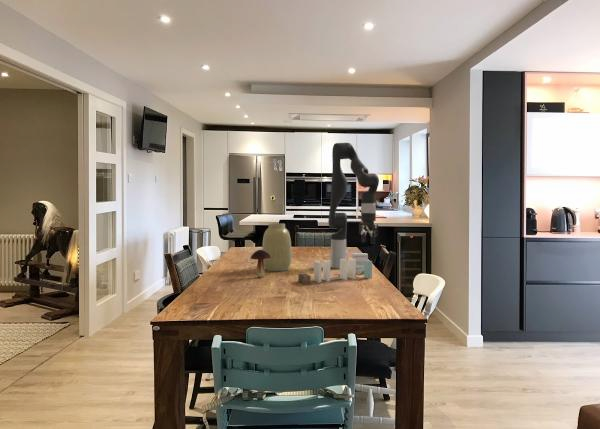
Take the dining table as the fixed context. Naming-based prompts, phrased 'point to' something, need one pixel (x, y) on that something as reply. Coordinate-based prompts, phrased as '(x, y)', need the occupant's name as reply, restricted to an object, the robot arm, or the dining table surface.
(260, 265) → the decorative mushroom
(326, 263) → the domino
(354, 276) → the domino
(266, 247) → the vase
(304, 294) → the dining table surface
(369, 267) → the domino
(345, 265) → the domino
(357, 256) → the ink box
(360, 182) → the robot arm
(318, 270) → the domino
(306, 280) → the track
